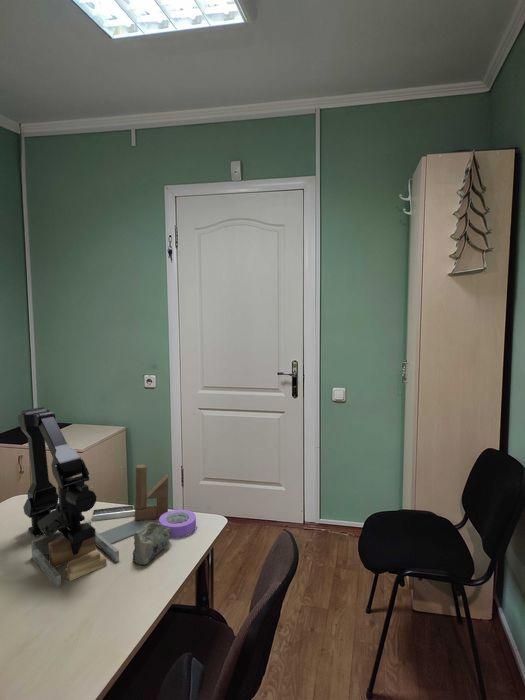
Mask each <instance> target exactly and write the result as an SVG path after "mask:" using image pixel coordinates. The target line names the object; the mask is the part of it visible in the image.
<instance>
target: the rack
mask: <svg viewBox="0 0 525 700" xmlns="http://www.w3.org/2000/svg"><path fill="white" fill-rule="evenodd" d="M91 521H92V520H87V521H84V522H80V523H81V524H83V523H88V524H90V525H91V526H92V522H91ZM95 532H96V535H95V541H96V546H97V547H99V549H100V550H101V551H103V553H105V554H106V555H107V556H108V557H110V559H112V560H113V561H114V562H115V563H117V562H119V561H120V552H119V551H120V550H119V549H117V548H116V547H115V546H114V544H110V543H109V542H108V541H107V540H105V539H104V538H103V537H102V536H101V535H100V534H99V532H98V531H96V530H95ZM62 538H64V536H63V533H62V532H60V531H57V532H55V533H54V534H51V535H50V536H47V537H46V536H45V535H44V536H41V537H40V538H36V539H33V540H31V542H30V543H31V546H30V547H31V557H32V558H31V559H33V561H35V563H36V564H37V565H38V566H39V568H40V569H41V570H42V571H43V573H44V574H45V576H47V578H48V579H49V580H50V582H51V583H52V584H54V585H55V587H56V588H60V587H61V586H62V579H61V573H59V572H58V571H57V570H56V567H55V568H54V567H53V566H52V565H51V564H50V560H48V559H47V558H46V557H45V555H49V545H48V543H51V542H54V541H56V540H59V539H62Z"/></svg>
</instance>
